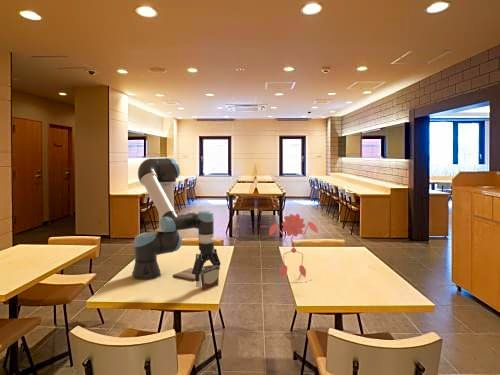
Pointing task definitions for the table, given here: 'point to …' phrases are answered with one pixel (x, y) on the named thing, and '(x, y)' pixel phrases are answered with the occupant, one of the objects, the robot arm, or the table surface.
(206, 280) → the food container
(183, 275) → the walnut board
